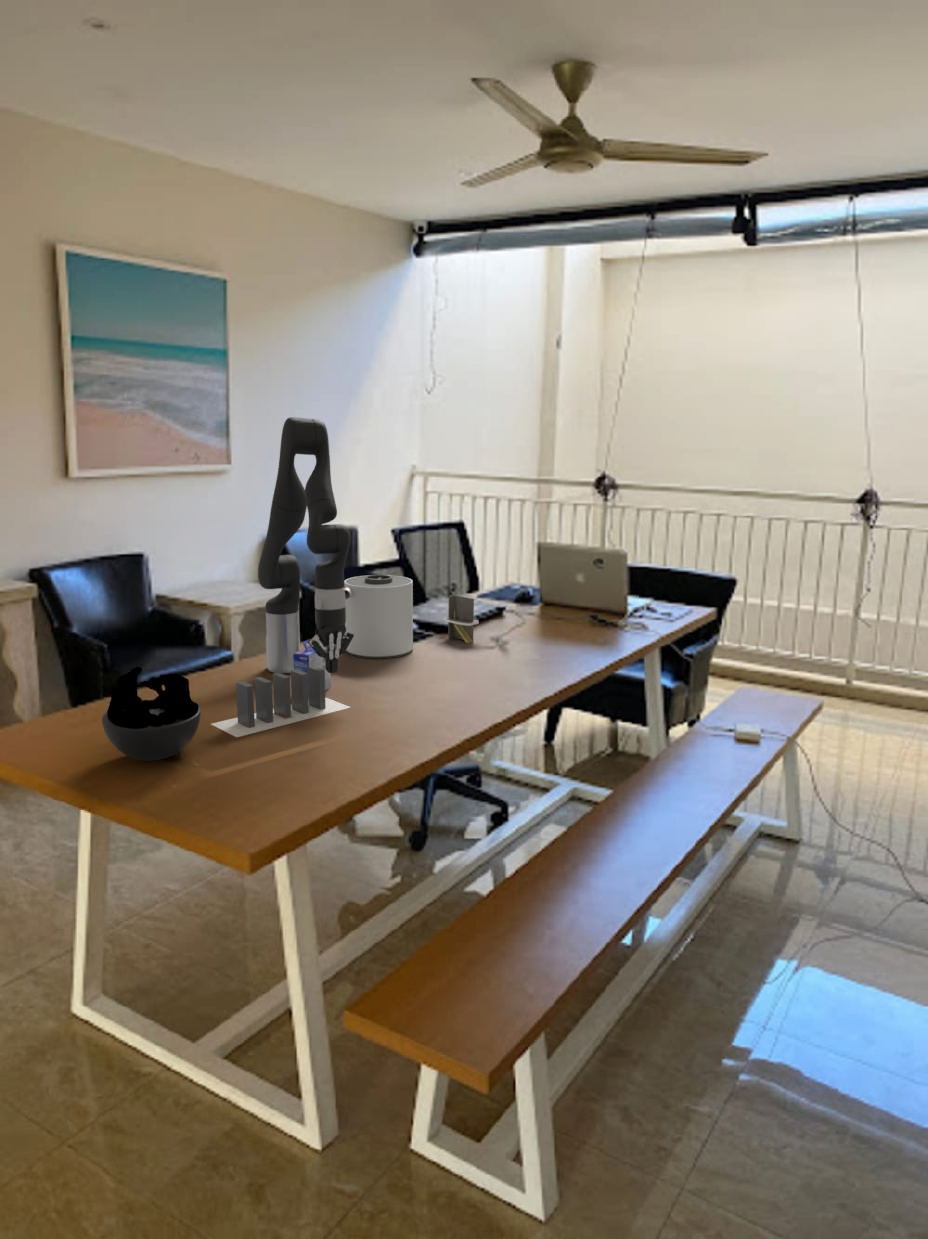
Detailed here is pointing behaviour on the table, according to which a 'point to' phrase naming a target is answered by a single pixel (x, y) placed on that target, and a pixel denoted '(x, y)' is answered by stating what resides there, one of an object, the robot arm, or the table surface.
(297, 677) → the domino
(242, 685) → the domino
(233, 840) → the table surface
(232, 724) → the board
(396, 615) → the humidifier
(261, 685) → the domino
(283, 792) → the table surface
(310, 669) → the domino
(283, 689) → the domino
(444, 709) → the table surface
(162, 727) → the coal bowl
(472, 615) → the architectural model
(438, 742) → the table surface
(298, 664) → the ink cartridge box
